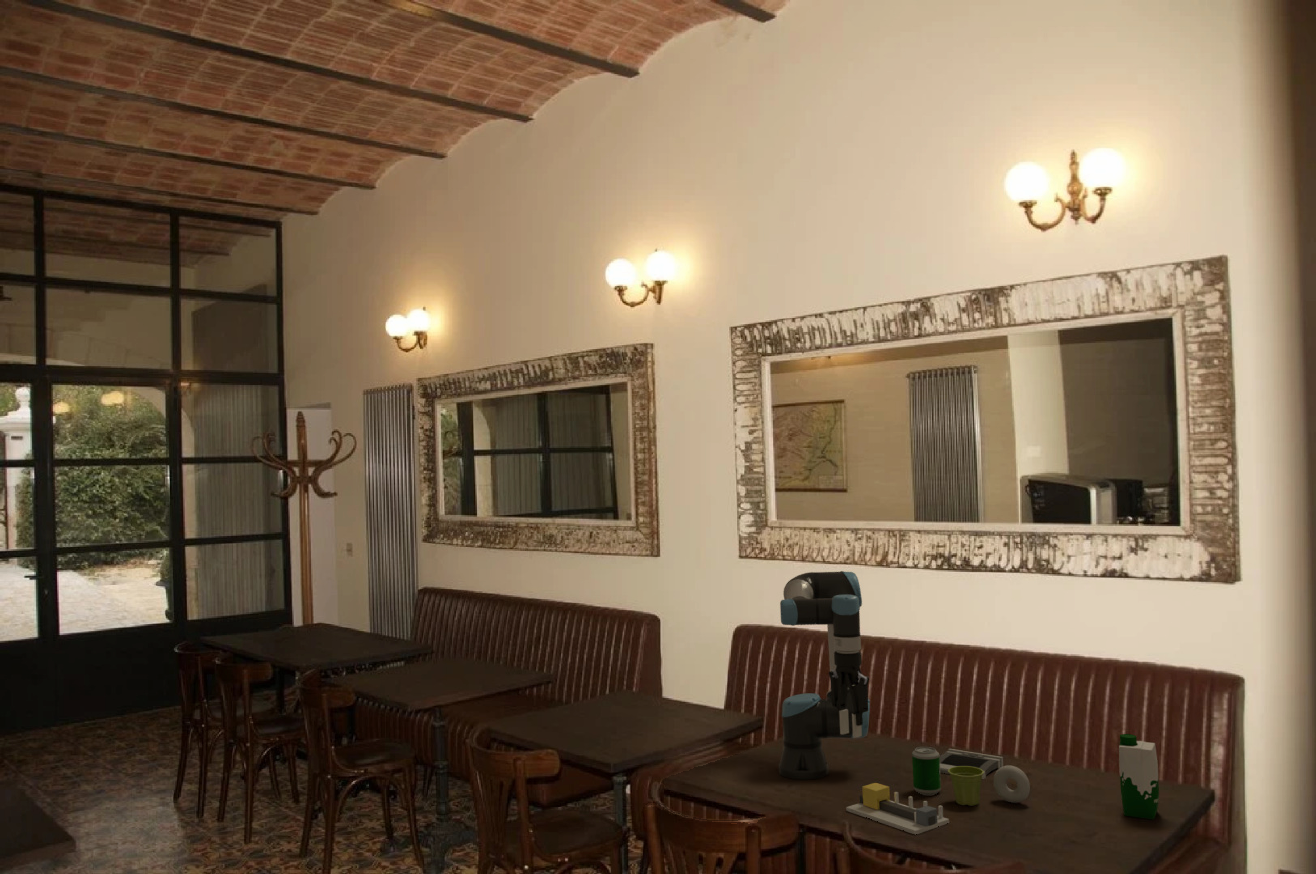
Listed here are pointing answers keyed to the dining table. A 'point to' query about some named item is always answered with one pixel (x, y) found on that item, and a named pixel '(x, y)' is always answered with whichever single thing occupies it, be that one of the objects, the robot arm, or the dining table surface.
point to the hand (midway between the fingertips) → (850, 735)
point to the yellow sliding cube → (875, 794)
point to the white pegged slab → (902, 815)
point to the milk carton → (1138, 777)
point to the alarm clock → (969, 761)
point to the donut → (1020, 779)
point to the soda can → (926, 770)
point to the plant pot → (966, 784)
